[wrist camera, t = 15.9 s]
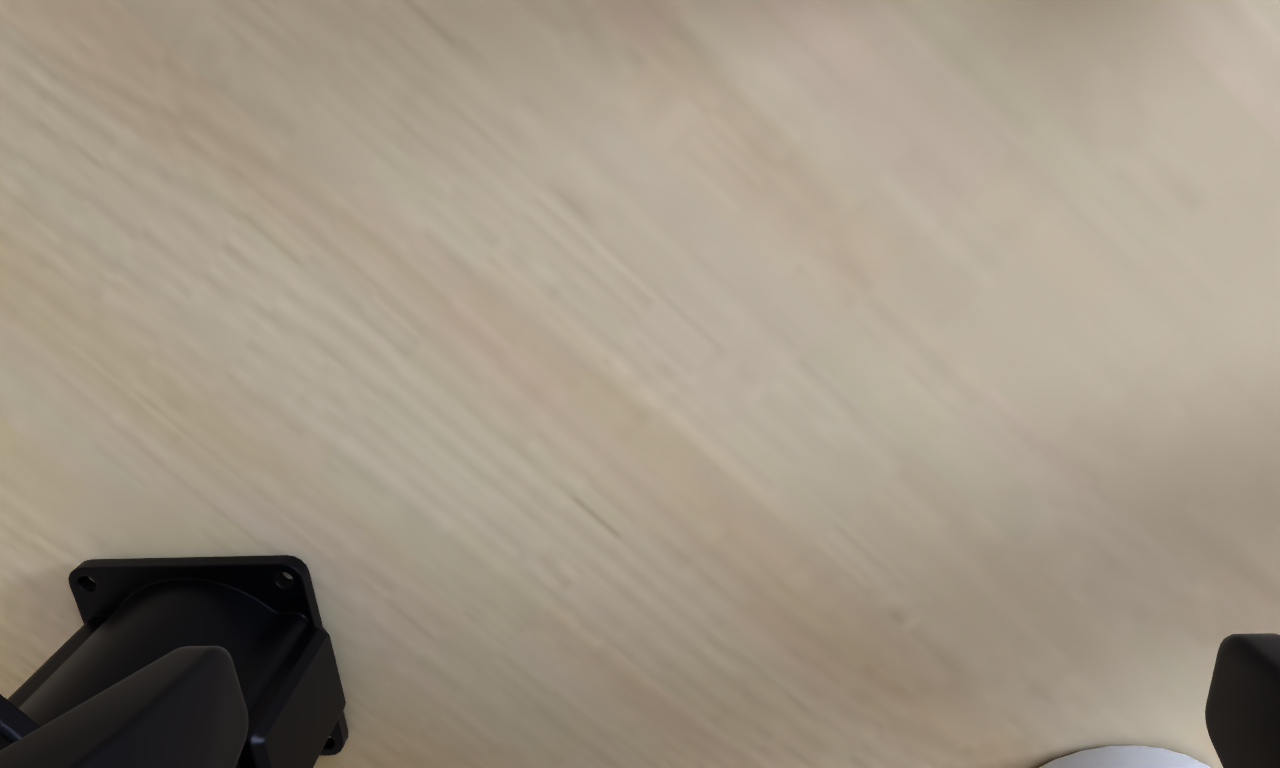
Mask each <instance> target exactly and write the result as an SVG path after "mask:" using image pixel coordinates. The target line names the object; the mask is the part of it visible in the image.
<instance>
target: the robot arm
mask: <svg viewBox="0 0 1280 768" xmlns="http://www.w3.org/2000/svg"><path fill="white" fill-rule="evenodd" d="M282 572H286V573H288V574H290V575H291V576H292V577H293V579H288V578H287V577H285V576H284V575H283V573H282ZM89 577H90V578H92V579H93V580H94V581H95V582H93V581H92V580H90V579H89ZM69 584H70V587H71V590H72V593H73V595H74V598H75V601H76V603H77V606H78V609H79V612H80V614H81V617H82V620H83V622H84V625H83V626H82V627H81V628H80V629H79V630H78V631H77V632H76V633H75V634H74V635H73V636H72V637H71V638H70V639H69V640H68V641H67V642H66V643H65V644H64V645H63V646H62V647H61V648H60V649H59V650H58V651H57V652H56V653H55V654H54V655H52V656H51V657H50V658H49V659H48V660H47V661H46V662H45V663H44V664H43V665H42V666H41V667H40V668H39V669H38V670H37V671H36V672H35V673H34V674H33V675H32V676H31V677H30V678H29V679H28V680H27V681H26V682H25V683H24V684H23V685H22V686H21V687H20V688H19V689H18V690H17V691H16V692H15V693H14V694H13V695H12V696H10V697H9V698H8V699H6V698H4V697H3V696H2V695H1V694H0V768H313V766H314V765H315V763H316V761H317V759H318V757H319V755H335V754H337V753H339V752H340V751H341V750H342V748H343V746H344V744H345V742H346V740H347V738H348V728H347V724H346V720H345V716H344V712H343V709H344V707H345V703H346V702H345V697H344V693H343V689H342V685H341V681H340V677H339V673H338V669H337V664H336V660H335V656H334V652H333V648H332V644H331V640H330V636H329V634H328V633H327V631H326V630H325V629H324V628H323V626H322V622H321V618H320V614H319V610H318V606H317V602H316V598H315V594H314V589H313V585H312V581H311V577H310V573H309V570H308V568H307V566H306V564H305V563H304V562H303V561H302V560H300V559H298V558H296V557H294V556H288V555H280V556H234V557H187V558H141V559H95V560H87V561H84V562H83V563H81V564H80V565H79V566H78V567H77V568H76V569H74V570H73V571H72V572H71V573H70V576H69ZM1205 717H1206V725H1207V729H1208V733H1209V736H1210V739H1211V741H1212V743H1213V746H1214V748H1215V750H1216V752H1217V755H1218V757H1219V759H1220V761H1221V763H1222V766H1223V768H1280V635H1278V634H1232V635H1230V636H1228V637H1226V638H1225V639H1224V640H1223V641H1222V643H1221V644H1220V647H1219V650H1218V654H1217V658H1216V663H1215V667H1214V672H1213V676H1212V681H1211V685H1210V690H1209V694H1208V699H1207V703H1206V710H1205ZM329 736H330V737H331V738H329Z"/></svg>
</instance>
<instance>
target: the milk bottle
mask: <svg viewBox="0 0 1280 768" xmlns="http://www.w3.org/2000/svg"><path fill="white" fill-rule="evenodd" d="M1039 768H1211V767H1210V766H1208V765H1206V764H1204V763H1201V762H1199V761H1197V760H1195V759H1193V758H1192V757H1190V756H1188V755H1184V754H1180V753H1177V752H1173V751H1170V750H1167V749H1164V748H1155V747H1146V746H1139V745H1129V746H1106V747H1101V748H1096V749H1089V750H1082V751H1079V752H1076V753H1073V754H1070V755H1067V756H1064V757H1061V758H1057V759H1055V760H1053V761H1051V762H1049V763H1047V764H1045V765H1043V766H1041V767H1039Z"/></svg>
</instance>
